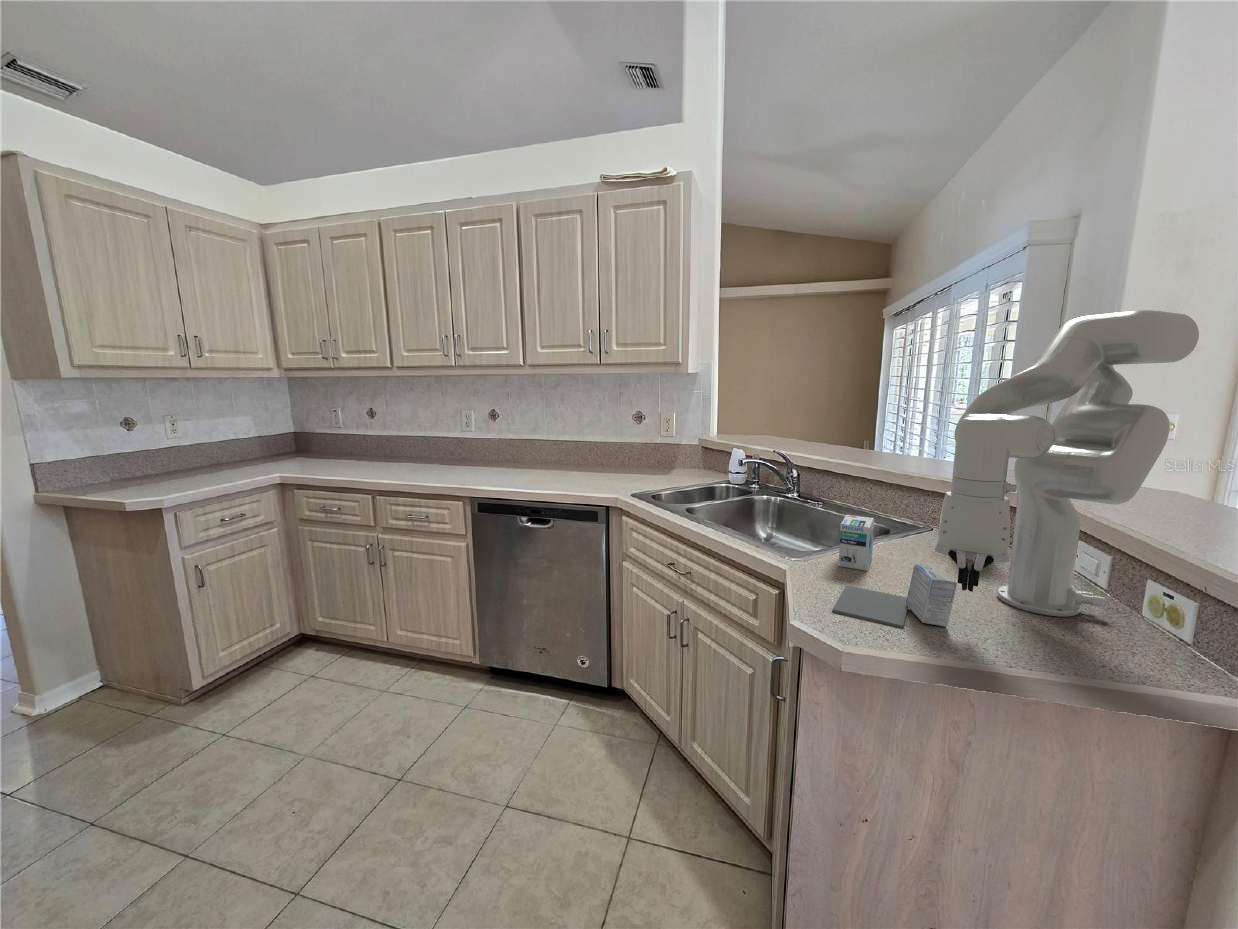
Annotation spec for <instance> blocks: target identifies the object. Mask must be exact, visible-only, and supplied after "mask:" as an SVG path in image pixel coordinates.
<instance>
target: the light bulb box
mask: <svg viewBox="0 0 1238 929" xmlns="http://www.w3.org/2000/svg"><path fill="white" fill-rule="evenodd" d="M839 528H840V531H839V533H840V535H839V550H838V567H843V568H848V569H849V568H850V569H852V570H853V569H854V570H859V571H866V572H868V571H869V569H870V565H871V563H872V560H873V548H874V536H875V534H874V532H875V518H874V517H867V516H859V515H853V514H852V515H851V514H846V515H845V516H844V518H843V520H842V521H841V523H840V527H839Z"/></svg>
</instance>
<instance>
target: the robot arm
mask: <svg viewBox="0 0 1238 929" xmlns="http://www.w3.org/2000/svg"><path fill="white" fill-rule="evenodd" d="M1199 336H1200V331H1199V327H1198V325H1197V322H1196V321H1195V320H1194V319H1193V317H1190V316H1189V315H1187V314H1184V313H1177V312H1169V311H1161V310H1154V309H1153V310H1152V309H1151V310H1150V309H1142V310H1141V309H1140V310H1139V309H1138V310H1127V311H1120V312H1118V311H1117V312H1109V313H1100V314H1090V315H1084V316H1080V317H1076V318H1073V319H1071V320H1068V321H1067V322H1065V323H1064V324H1063V325H1061V327H1059V328H1058V330H1057V331H1056V332H1055V334H1054V335H1053V336H1052V337H1051V339H1050V340H1049V341H1048V343H1047V344H1046V345H1045V347H1044V348H1043V349H1042V350H1041V351H1040V353H1039V354H1038V356H1037V357H1036V358H1035V359H1034V361H1033V362H1032V363H1031V364H1030V366H1029V367H1028V368H1027V369H1025V370H1023V371H1021V372H1019V373H1016V374H1014V375H1012V376H1010V377H1008V378H1006V379H1004V380H1002V381H1001V382H999V383H997V384H995V385H993V386H991V387H990V388H987V389H986V390H984V391H983V392H981V393H980V394H979V395H978V396H976V397H975V398H974V399H973V401H972V402H971V403H970V405H969V406H968V407H967V408H966V409H965V411H963V413H962V415H961V417H960V418H959V419H958V422H957V424H956V425H955V429H954V434H953V435H954V441H955V449H954V457H953V465H952V466H953V467H952V468H953V469H952V478H951V479H952V480H951V490H950V491H946V493H945V495H944V498H943V500H944V501H943V500H942V503H943V504H942V503H941V510H940V517H939V522H938V530H937V538H938V539H937V542H936V544H935V547H934V551H935V552H936V553H938V554H941V555H944V556H947V557H950V559H951V560H952V561H953V562H954V563H955V564H956V565H957V567H958V572H957V584H961V591H968V592H970V593H971V592H972V593H973V592H974V587H979V582H980V581H979V580H980V574H981V573H980V571H982V570H983V568H986V567H987V566H990V565H991V564H994V563H995V564H999V563H1000V564H1003V563H1009V562H1010V564H1009V570H1008V571H1009V572H1008V573H1009V574H1008V579H1007V580H1008V581H1007V585H1002V586H1000V587H998V588H997V590H996V596H997V597H998V599H1000V600H1001V601H1003V602H1004V603H1006V604H1008V605H1010V606H1012V607H1014V608H1017V609H1020V610H1023V611H1026V612H1030V613H1034V614H1038V615H1044V616H1049V617H1050V616H1051V617H1074V616H1076V615H1079V614H1080V613H1081V608H1082V607H1081V606H1082V604H1083V605H1088V606H1092V607H1096V608H1105V607H1106V597H1103V596H1099V595H1097V596H1096V595H1094V593H1093V592H1089V591H1080V590H1078V589H1077V588H1075V586H1074V585H1073V582H1074V574H1075V569H1076V568H1075V566H1076V559H1077V553H1078V552H1077V551H1078V544H1079V536H1080V532H1081V531H1080V530H1081V520H1080V514H1079V512H1078V510H1077V509H1076V507H1075V506H1074V504H1073V503H1072V501H1071V500H1070V499H1072V500H1073V499H1074V500H1079V501H1085V502H1092V503H1098V504H1104V505H1121V504H1125V503H1127V502H1129V501H1130V500H1131V499H1134V498H1133V497H1135V496H1136V495H1137V493H1138V492H1139V491H1140V489H1141V487H1142V485H1143V483H1144V482H1145V481H1146V479H1147V477H1148V476H1149V474H1150V472H1151V470H1152V469H1153V467H1154V465H1155V464H1156V462H1157V460H1158V459H1159V457H1160V456H1161V454H1162V452H1163V450H1164V448H1165V446H1166V444H1167V441H1168V440H1169V439H1168V438H1169V434H1170V428H1171V427H1170V419H1169V417H1168V414H1166V411H1164V410H1163V409H1161V408H1160V407H1156V406H1153V405H1150V404H1137V403H1136V404H1135V403H1134V404H1133V403H1130V401H1131V400H1132V398H1133V394H1134V393H1133V388H1132V386H1131V385H1130V383H1129V381H1128V380H1127V379H1125V377H1124V376H1123V375H1122V374H1121V373H1119V372H1118V371H1117V370H1115V368H1114V365H1115V366H1117V365H1119V366H1121V365H1142V364H1144V365H1145V364H1163V363H1164V364H1169V363H1176V362H1179V361H1182V360H1184V359H1185V358H1187V357H1188V356H1189V355H1191V354H1192V352H1193V351H1194V350H1195V348H1196V347H1197V345H1198V341H1199V339H1200V338H1199ZM1066 399H1067V400H1066ZM1063 400H1066V401H1065V403H1064V404H1063V405H1062V407H1061V409H1060V410H1059V412H1058V413H1057V415H1056V417H1055V418H1054V420H1053V421H1052V423H1051V422H1050V421H1049V420H1047V419H1045V418H1043V417H1040V416H1036V415H1030V414H1029V415H1028V414H1014V413H1017V412H1020V411H1023V410H1026V409H1031V408H1036V407H1040V406H1045V405H1050V404H1053V403H1056V402H1060V401H1063ZM1010 458H1014V459H1015V462H1014V479H1015V480H1014V481H1015V484H1013V483H1009V482H1008V481H1007V476H1008V467H1009V459H1010ZM1009 493H1016V508H1015V512H1016V513H1015V518H1014V528H1013V536H1012V548H1011V555H1010V556H1009V548H1010V541H1011V504H1010V499H1009V497H1007V496H1006V495H1007V494H1009ZM965 552H970V553H976V556H975V559H974V561H973V562H971V564H970V565H969V564H968V563H969V562H968V561H967V559H965Z"/></svg>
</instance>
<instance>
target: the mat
mask: <svg viewBox="0 0 1238 929" xmlns="http://www.w3.org/2000/svg"><path fill="white" fill-rule="evenodd" d="M906 600H907V596H901V595H897V594H891V593H886V592H881V591H876V590H872V589H866V588H861V587H855V586H852V585H847V584H846V585H845V587H844V588H843V590H842V592H841V593H840V595H839V597H838V599H837V600H836V602H835V604H834V606H833V607H832V609H831V610H832V613H835V614H840V615H845V616H849V617H853V618H858V619H862V620H866V621H870V622H874V623H875V622H876V623H880V624H884V625H888V626H891V627H892V626H893V627H896V626H897V628H902V629H903V628H904V626H905V624H906V618H907V612H908V609H909V607H908V606H907V605H906Z"/></svg>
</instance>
